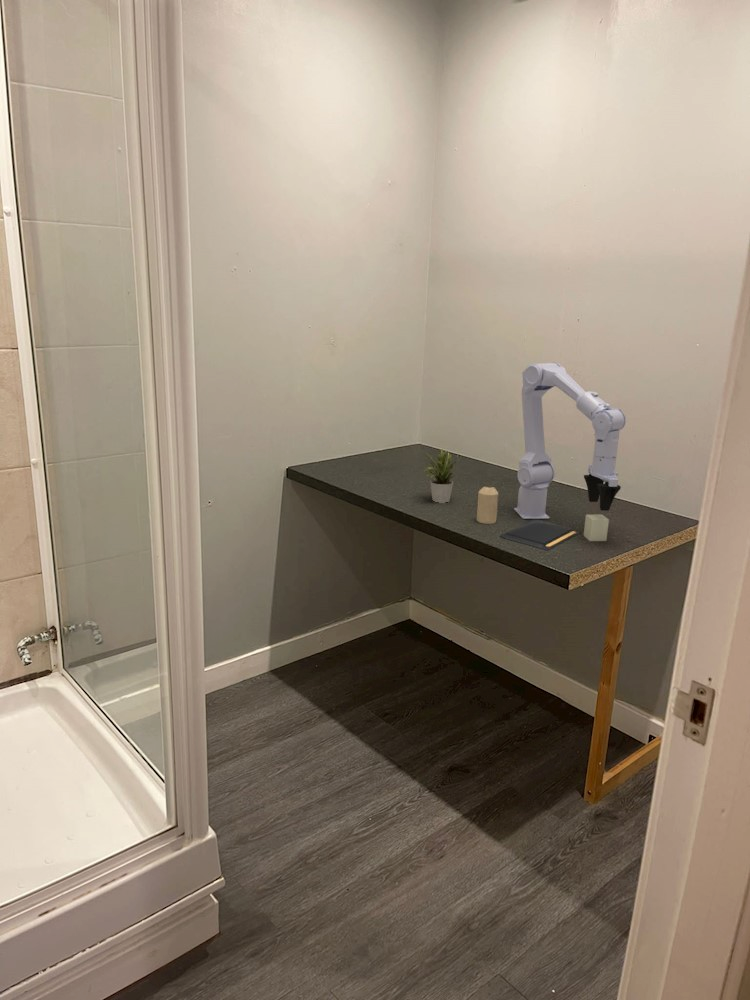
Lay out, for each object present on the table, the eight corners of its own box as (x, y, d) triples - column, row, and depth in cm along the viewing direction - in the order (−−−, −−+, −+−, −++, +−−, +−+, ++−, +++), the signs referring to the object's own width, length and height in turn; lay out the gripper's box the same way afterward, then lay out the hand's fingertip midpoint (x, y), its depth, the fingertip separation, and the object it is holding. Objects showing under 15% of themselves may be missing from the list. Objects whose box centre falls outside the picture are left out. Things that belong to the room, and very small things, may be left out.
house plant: (413, 493, 229) (415, 443, 224) (456, 493, 230) (459, 443, 225) (419, 506, 215) (421, 453, 211) (464, 506, 216) (468, 454, 212)
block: (583, 535, 194) (586, 514, 192) (599, 535, 194) (602, 514, 193) (589, 541, 190) (592, 519, 188) (606, 541, 190) (608, 519, 188)
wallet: (535, 516, 205) (584, 529, 195) (534, 522, 206) (583, 535, 196) (496, 532, 191) (547, 546, 181) (496, 538, 191) (546, 553, 182)
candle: (494, 518, 206) (496, 484, 204) (497, 524, 201) (500, 490, 198) (475, 517, 206) (477, 484, 203) (478, 524, 201) (480, 489, 198)
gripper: (631, 462, 179) (625, 514, 183) (608, 449, 193) (602, 497, 197) (604, 462, 178) (598, 514, 182) (583, 449, 192) (577, 498, 196)
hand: (598, 505), depth 189 cm, fingers open, 7 cm apart
